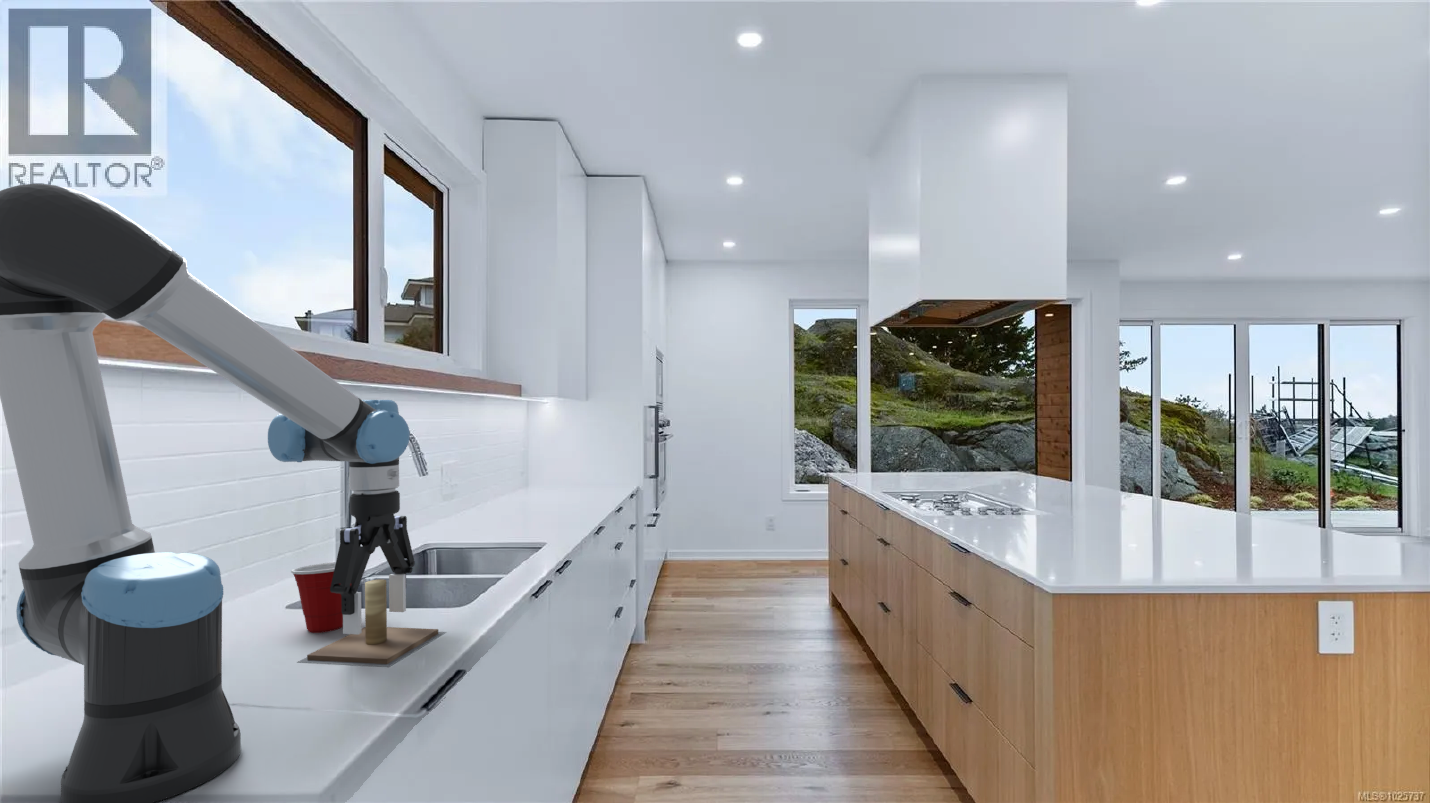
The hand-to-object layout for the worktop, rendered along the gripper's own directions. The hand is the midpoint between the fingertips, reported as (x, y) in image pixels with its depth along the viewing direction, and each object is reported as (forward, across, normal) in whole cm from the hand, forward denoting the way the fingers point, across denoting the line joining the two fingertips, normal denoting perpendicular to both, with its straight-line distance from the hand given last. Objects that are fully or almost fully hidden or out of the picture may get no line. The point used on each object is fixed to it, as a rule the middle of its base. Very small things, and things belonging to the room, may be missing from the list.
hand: (376, 621), depth 111 cm
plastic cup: (+5, +8, +16) cm, 19 cm away
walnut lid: (+4, 0, 0) cm, 4 cm away
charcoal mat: (+4, 0, 0) cm, 4 cm away
